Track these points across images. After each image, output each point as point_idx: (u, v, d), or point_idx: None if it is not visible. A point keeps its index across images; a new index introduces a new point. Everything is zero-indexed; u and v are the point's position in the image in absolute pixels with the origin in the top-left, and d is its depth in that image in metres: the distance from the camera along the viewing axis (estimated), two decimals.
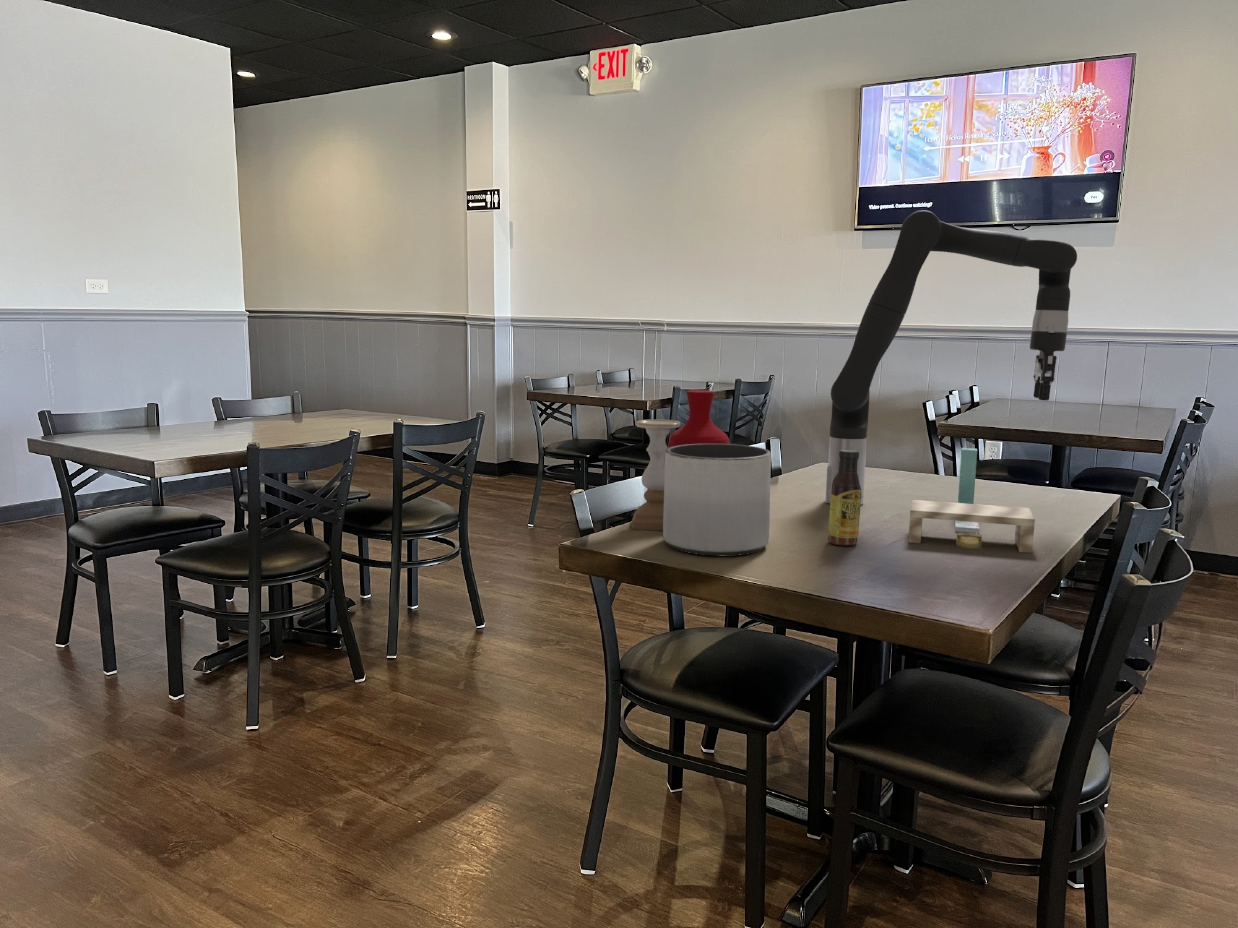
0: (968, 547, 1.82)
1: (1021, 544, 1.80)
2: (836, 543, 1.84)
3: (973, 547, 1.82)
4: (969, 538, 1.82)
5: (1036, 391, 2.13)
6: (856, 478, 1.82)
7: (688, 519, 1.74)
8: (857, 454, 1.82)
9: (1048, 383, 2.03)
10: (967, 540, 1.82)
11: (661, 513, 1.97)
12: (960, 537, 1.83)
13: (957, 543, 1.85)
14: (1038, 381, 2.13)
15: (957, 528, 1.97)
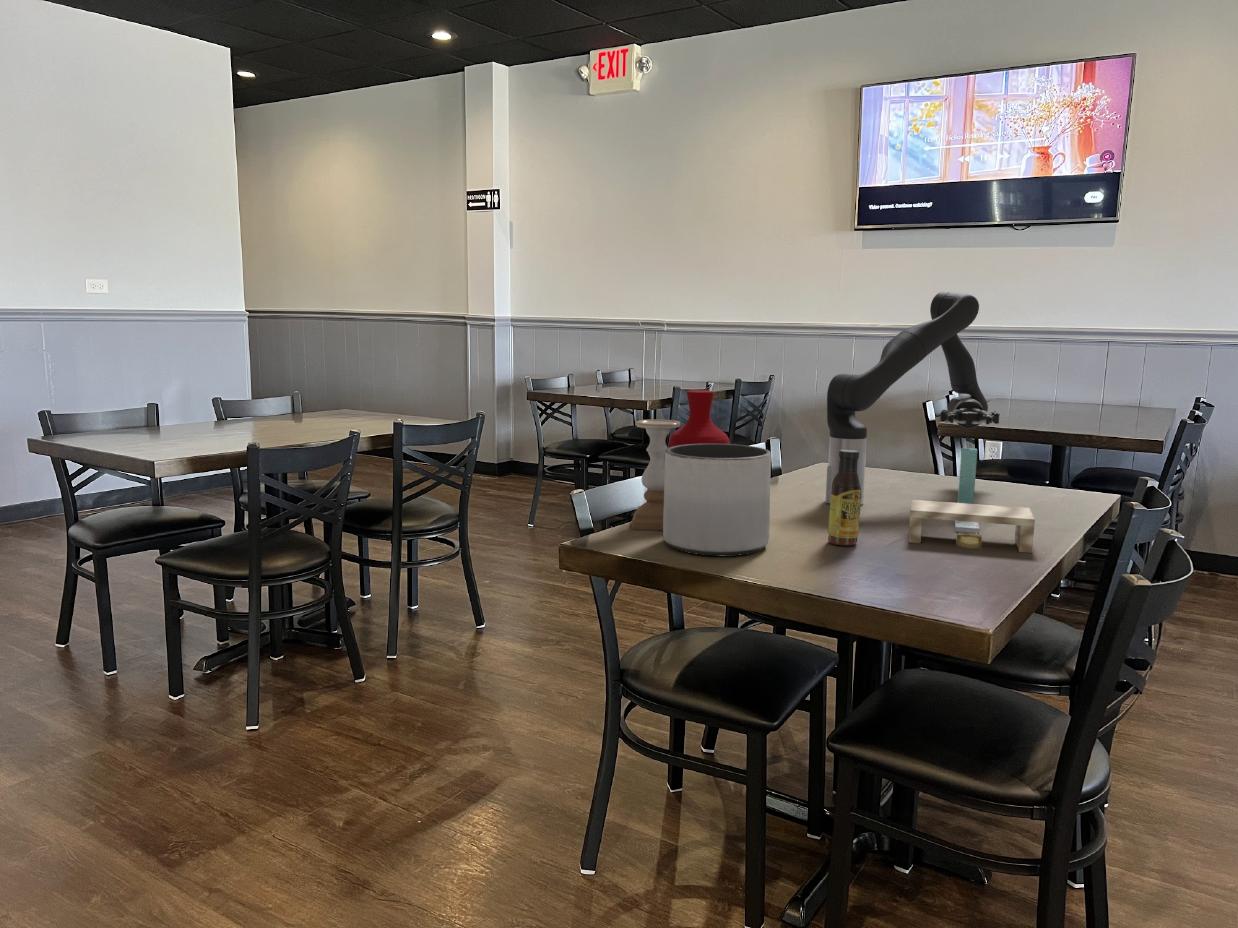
0: (968, 547, 1.82)
1: (1021, 544, 1.80)
2: (836, 543, 1.84)
3: (973, 547, 1.82)
4: (969, 538, 1.82)
5: None
6: (856, 478, 1.82)
7: (688, 519, 1.74)
8: (857, 454, 1.82)
9: (993, 420, 2.25)
10: (967, 540, 1.82)
11: (661, 513, 1.97)
12: (960, 537, 1.83)
13: (957, 543, 1.85)
14: None
15: (957, 528, 1.97)
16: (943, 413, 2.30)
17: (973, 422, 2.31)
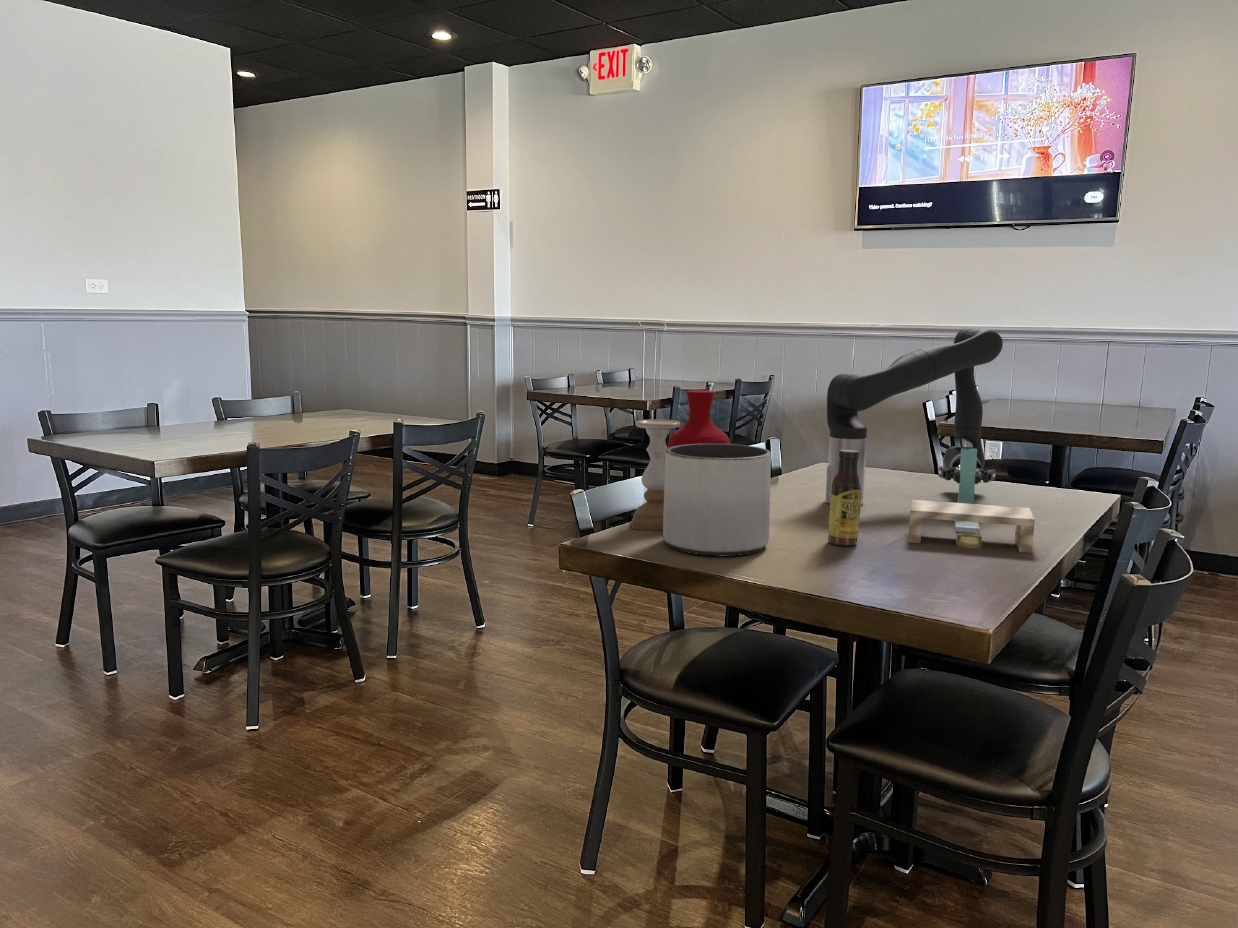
0: (968, 547, 1.82)
1: (1021, 544, 1.80)
2: (836, 543, 1.84)
3: (973, 547, 1.82)
4: (969, 538, 1.82)
5: None
6: (856, 478, 1.82)
7: (688, 519, 1.74)
8: (857, 454, 1.82)
9: (982, 479, 2.15)
10: (967, 540, 1.82)
11: (661, 513, 1.97)
12: (960, 537, 1.83)
13: (957, 543, 1.85)
14: None
15: (957, 528, 1.97)
16: (950, 471, 2.18)
17: None
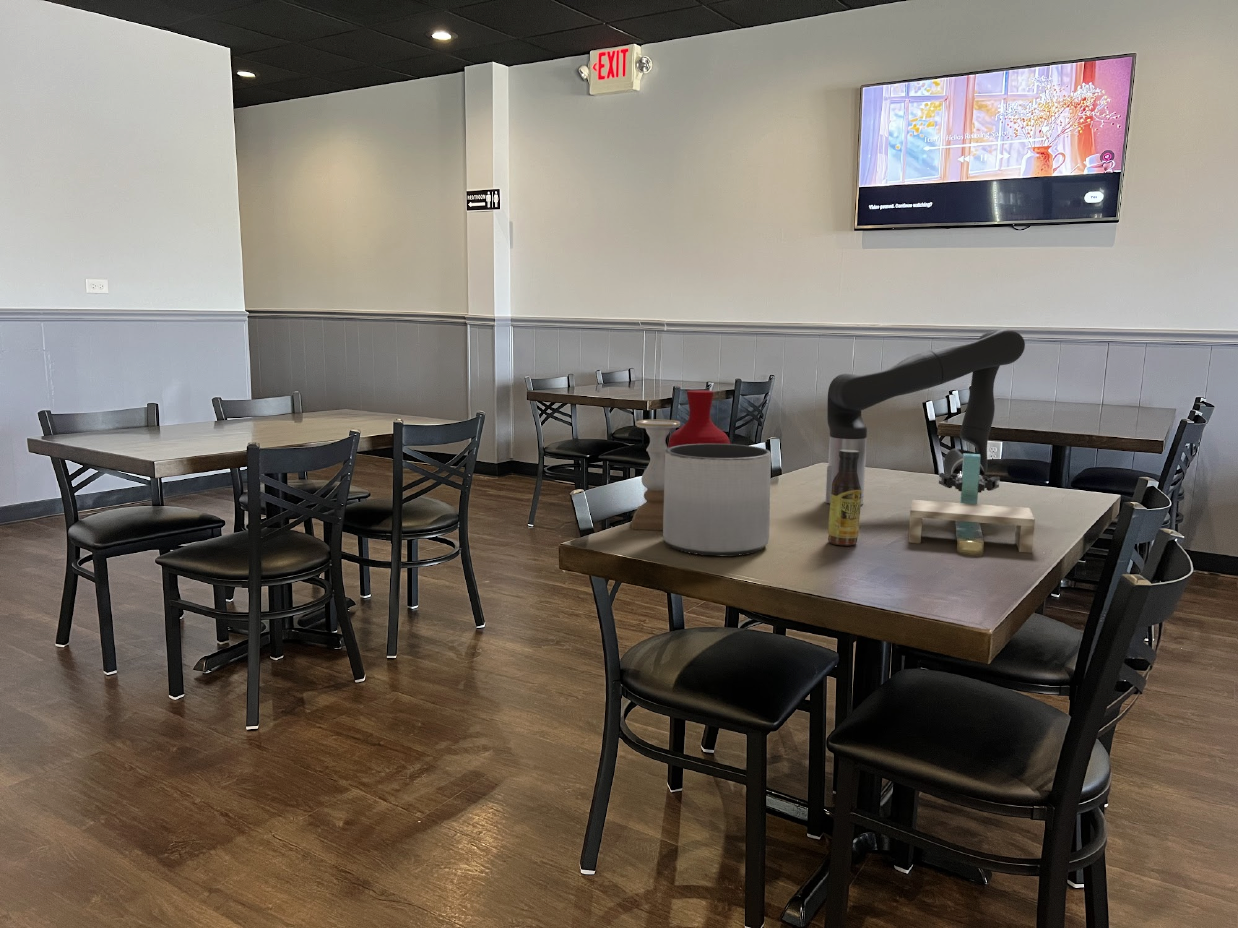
0: (969, 553, 1.77)
1: (1021, 544, 1.80)
2: (836, 543, 1.84)
3: (975, 553, 1.77)
4: (971, 544, 1.77)
5: None
6: (856, 478, 1.82)
7: (688, 519, 1.74)
8: (857, 454, 1.82)
9: (985, 486, 2.01)
10: (968, 546, 1.77)
11: (661, 513, 1.97)
12: (961, 543, 1.78)
13: (958, 549, 1.79)
14: None
15: None
16: (951, 479, 2.03)
17: None
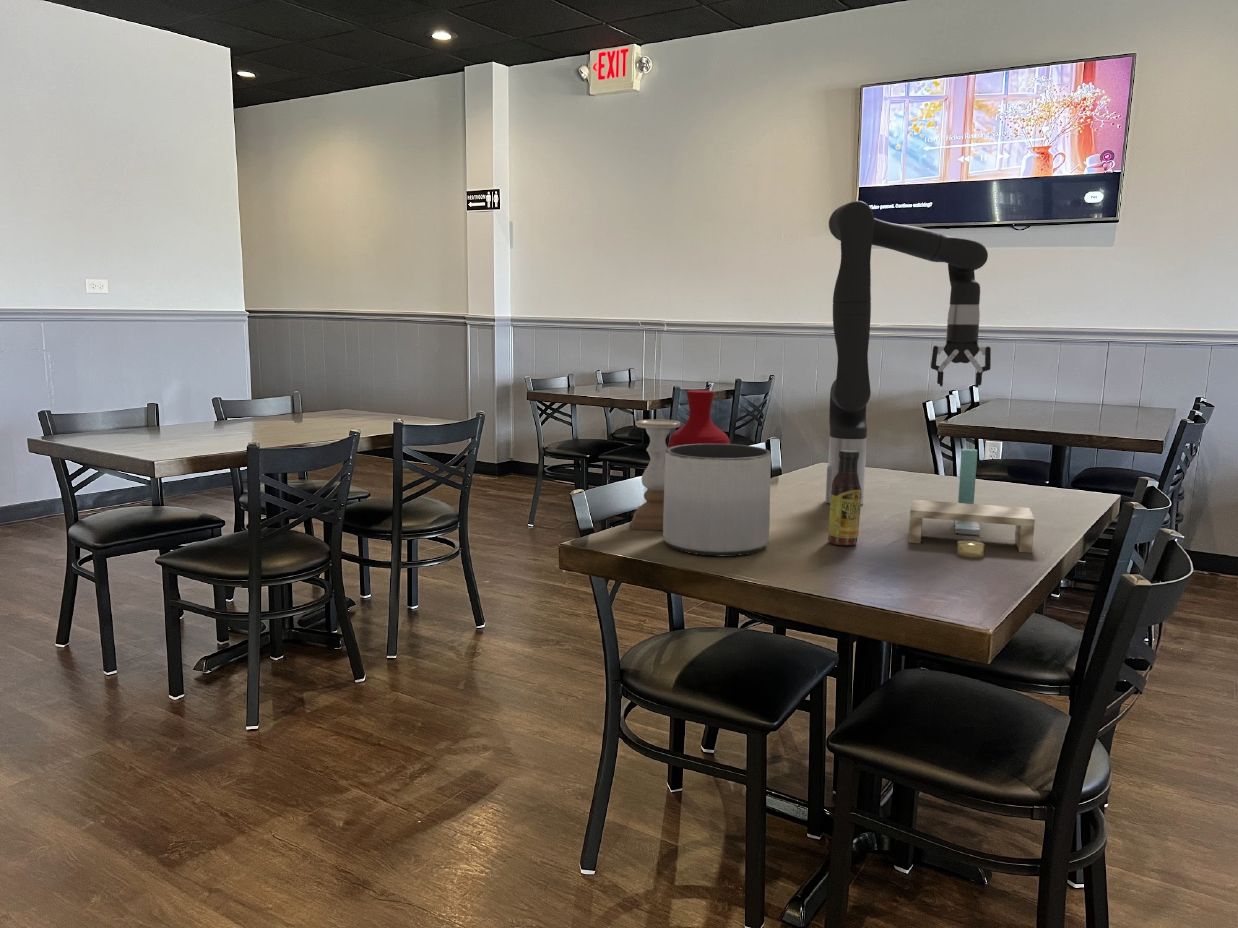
0: (970, 556, 1.75)
1: (1021, 544, 1.80)
2: (836, 543, 1.84)
3: (975, 556, 1.75)
4: (971, 547, 1.75)
5: (942, 380, 2.27)
6: (856, 478, 1.82)
7: (688, 519, 1.74)
8: (857, 454, 1.82)
9: (983, 371, 2.24)
10: (969, 548, 1.75)
11: (661, 513, 1.97)
12: (961, 546, 1.76)
13: (958, 552, 1.77)
14: (942, 371, 2.26)
15: (957, 529, 1.95)
16: (933, 368, 2.27)
17: None
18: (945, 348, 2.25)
